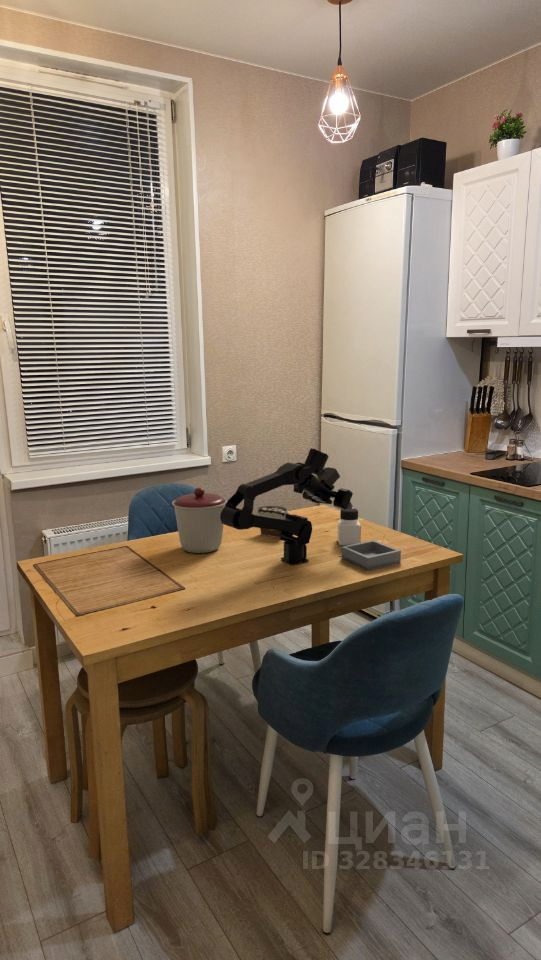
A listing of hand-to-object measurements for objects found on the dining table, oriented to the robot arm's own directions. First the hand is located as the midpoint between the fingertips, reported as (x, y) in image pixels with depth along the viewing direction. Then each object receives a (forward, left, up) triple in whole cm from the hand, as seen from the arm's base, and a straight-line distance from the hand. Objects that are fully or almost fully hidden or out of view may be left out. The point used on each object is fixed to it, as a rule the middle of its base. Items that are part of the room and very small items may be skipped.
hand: (341, 505), depth 205 cm
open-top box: (-1, -16, -14) cm, 22 cm away
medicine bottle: (+5, +3, -15) cm, 16 cm away
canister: (-41, +24, -15) cm, 49 cm away
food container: (-11, +25, -15) cm, 31 cm away
